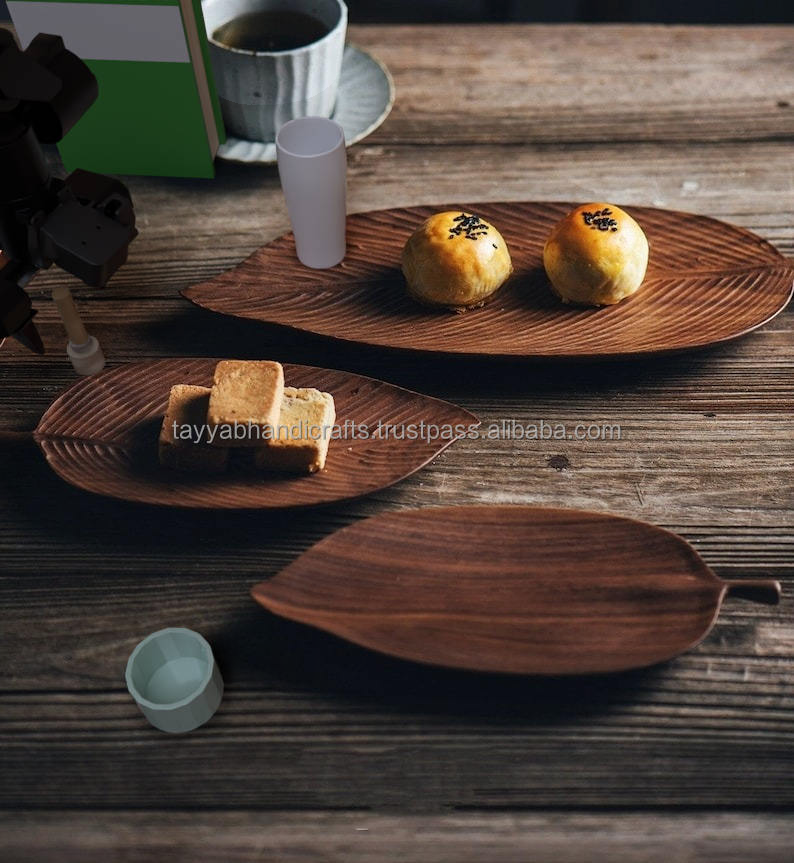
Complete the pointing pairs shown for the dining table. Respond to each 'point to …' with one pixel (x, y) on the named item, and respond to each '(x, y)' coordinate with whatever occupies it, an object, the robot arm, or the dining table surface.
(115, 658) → the dining table surface
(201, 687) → the cup
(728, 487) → the dining table surface
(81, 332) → the brush
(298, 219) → the drinking glass
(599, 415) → the dining table surface
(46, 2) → the hardback book
